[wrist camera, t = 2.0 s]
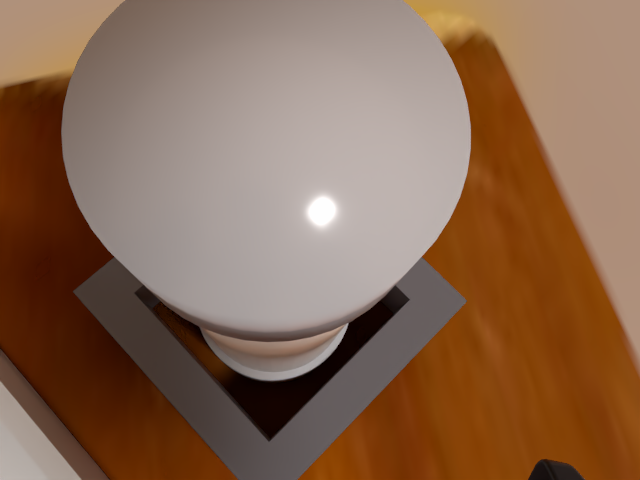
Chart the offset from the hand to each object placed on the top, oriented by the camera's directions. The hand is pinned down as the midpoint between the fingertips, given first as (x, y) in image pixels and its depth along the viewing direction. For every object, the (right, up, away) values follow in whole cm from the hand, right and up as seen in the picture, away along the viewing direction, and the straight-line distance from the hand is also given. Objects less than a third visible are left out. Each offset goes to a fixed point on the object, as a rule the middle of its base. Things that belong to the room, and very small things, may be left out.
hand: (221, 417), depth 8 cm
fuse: (0, 0, +11) cm, 11 cm away
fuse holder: (0, 0, +11) cm, 11 cm away
